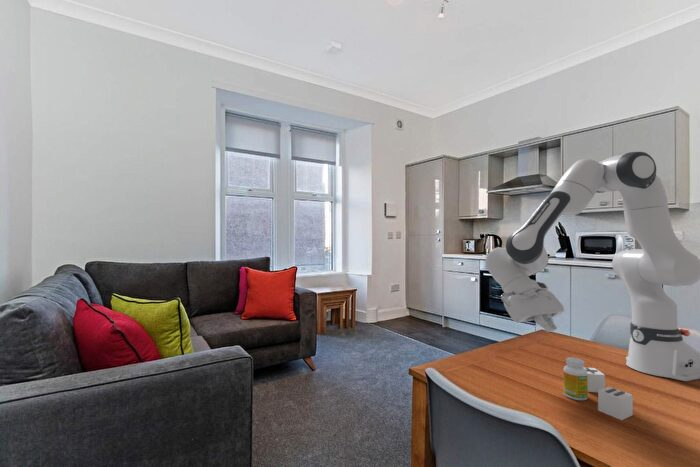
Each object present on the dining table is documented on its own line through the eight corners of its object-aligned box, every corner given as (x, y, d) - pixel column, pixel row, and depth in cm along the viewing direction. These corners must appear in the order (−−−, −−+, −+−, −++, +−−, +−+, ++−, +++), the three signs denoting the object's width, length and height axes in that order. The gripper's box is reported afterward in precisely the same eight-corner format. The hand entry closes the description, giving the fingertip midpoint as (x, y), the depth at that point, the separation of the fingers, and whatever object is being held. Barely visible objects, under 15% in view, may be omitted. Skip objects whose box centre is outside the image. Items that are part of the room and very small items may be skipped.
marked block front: (609, 406, 86) (609, 385, 86) (632, 415, 82) (632, 393, 82) (598, 410, 84) (598, 389, 84) (621, 420, 79) (621, 398, 79)
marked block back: (594, 385, 98) (594, 367, 98) (605, 393, 93) (604, 374, 93) (576, 384, 99) (575, 366, 99) (585, 391, 94) (585, 373, 94)
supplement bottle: (580, 402, 88) (580, 364, 88) (559, 394, 92) (558, 358, 93) (592, 398, 90) (591, 361, 90) (570, 390, 95) (570, 355, 95)
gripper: (504, 287, 100) (536, 328, 91) (549, 283, 109) (581, 320, 100) (492, 300, 103) (521, 341, 95) (536, 295, 112) (566, 332, 104)
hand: (552, 330), depth 97 cm, fingers closed
